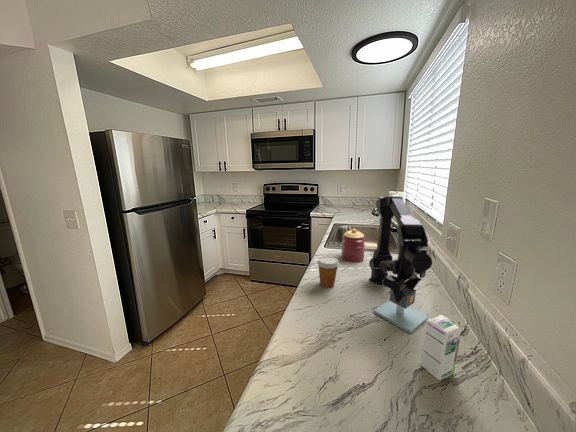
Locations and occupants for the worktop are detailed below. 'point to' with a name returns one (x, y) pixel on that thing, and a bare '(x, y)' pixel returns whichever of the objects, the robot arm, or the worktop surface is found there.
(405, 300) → the grey block
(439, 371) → the syrup box
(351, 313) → the worktop surface
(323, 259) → the disposable coffee cup
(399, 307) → the grey stone block
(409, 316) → the plate
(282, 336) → the worktop surface
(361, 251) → the canister
